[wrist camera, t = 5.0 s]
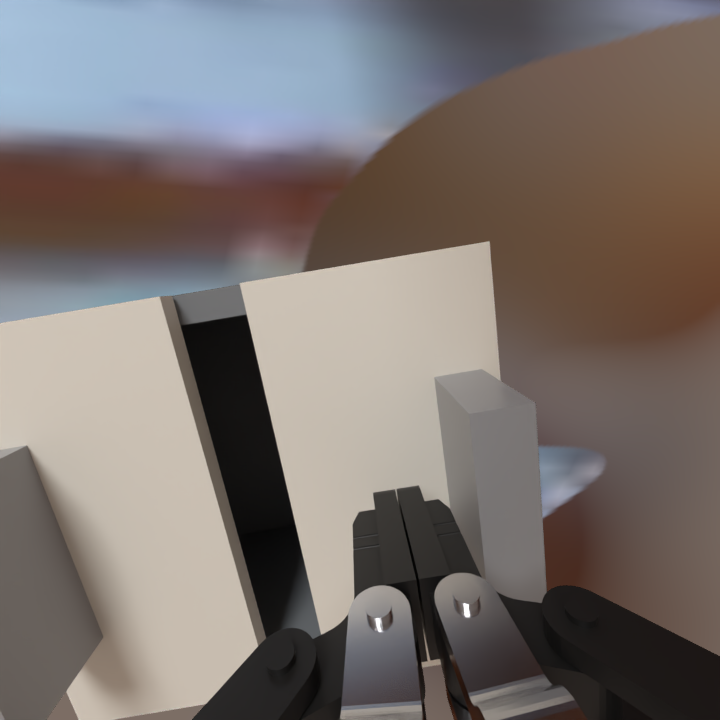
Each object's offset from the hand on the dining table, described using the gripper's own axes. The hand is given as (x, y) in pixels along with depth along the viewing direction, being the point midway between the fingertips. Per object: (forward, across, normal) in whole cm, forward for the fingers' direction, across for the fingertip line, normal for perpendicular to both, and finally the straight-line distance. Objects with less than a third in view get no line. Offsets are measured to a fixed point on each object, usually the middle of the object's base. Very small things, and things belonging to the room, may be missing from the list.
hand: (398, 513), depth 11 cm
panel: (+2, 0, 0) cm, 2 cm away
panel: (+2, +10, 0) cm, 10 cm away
